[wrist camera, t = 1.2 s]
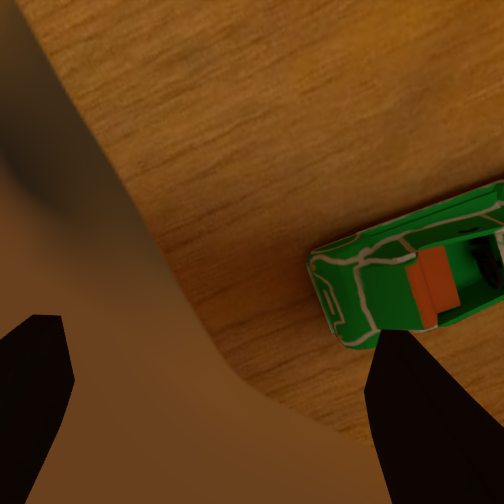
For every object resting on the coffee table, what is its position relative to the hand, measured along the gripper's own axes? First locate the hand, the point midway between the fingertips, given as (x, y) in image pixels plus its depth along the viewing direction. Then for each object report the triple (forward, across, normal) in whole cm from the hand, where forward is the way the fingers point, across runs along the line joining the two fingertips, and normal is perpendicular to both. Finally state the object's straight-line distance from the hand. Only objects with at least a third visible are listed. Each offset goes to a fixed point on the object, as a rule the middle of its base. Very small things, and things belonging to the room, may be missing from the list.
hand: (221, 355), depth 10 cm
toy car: (+11, -10, +3) cm, 15 cm away
